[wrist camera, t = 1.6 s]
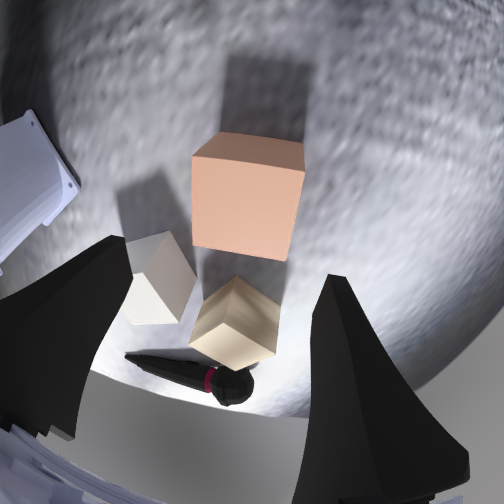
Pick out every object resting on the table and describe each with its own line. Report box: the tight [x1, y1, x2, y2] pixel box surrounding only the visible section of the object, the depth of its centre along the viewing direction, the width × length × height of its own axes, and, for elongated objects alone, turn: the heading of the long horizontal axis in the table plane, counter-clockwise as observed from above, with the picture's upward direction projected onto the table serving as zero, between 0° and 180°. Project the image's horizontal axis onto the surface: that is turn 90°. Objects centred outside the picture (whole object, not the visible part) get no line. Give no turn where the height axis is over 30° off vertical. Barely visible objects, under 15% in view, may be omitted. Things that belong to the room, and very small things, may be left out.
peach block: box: [192, 132, 305, 261], centre depth 15 cm, size 5×5×5 cm
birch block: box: [188, 275, 281, 371], centre depth 22 cm, size 5×5×5 cm
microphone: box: [125, 355, 254, 407], centre depth 32 cm, size 6×6×20 cm
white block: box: [119, 231, 197, 325], centre depth 21 cm, size 5×5×5 cm
